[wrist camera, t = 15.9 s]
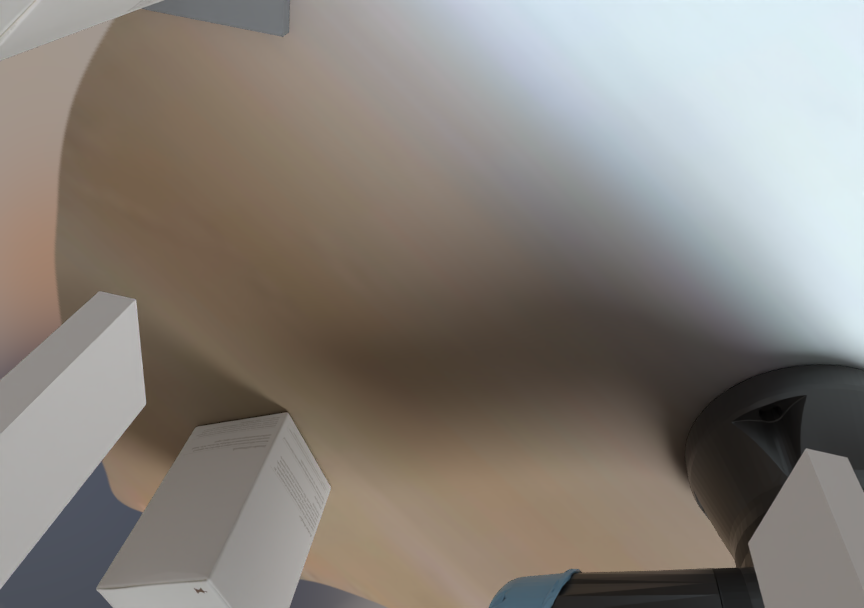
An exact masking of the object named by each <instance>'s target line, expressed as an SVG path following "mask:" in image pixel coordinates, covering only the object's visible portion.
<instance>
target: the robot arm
mask: <svg viewBox="0 0 864 608" xmlns="http://www.w3.org/2000/svg"><path fill="white" fill-rule="evenodd" d="M145 405H146V395H145V385H144V375H143V364H142V354H141V344H140V334H139V324H138V314H137V304H136V299H133V298H128V297H124V296H119V295H115V294H110V293H106V292H101V291H99V292H98V293H97V294H95V295H94V296H93V297H92V298H91V299H90V300H89V301H88V302H87V303H85V304H84V305H83V306H82V307H81V308H80V309H79V310H78V311H77V312H75V313H74V314H73V315H72V316H71V317H70V318H69V319H68V320H67V321H65V322H64V323H63V324H62V325H61V326H60V327H59V328H58V329H57V330H55V332H54V333H52V334H51V335H50V336H49V337H48V338H47V339H45V340H44V341H43V342H42V343H41V344H40V345H39V346H38V347H37V348H35V349H34V350H33V351H32V352H31V353H30V354H29V355H28V356H27V357H25V358H24V359H23V360H22V361H21V362H20V363H19V364H18V365H17V366H15V367H14V368H13V369H12V370H11V371H10V372H9V373H8V374H7V375H5V376H4V377H3V378H2V379H1V380H0V589H1V587H2V586H3V585H4V584H5V582H6V581H7V580H8V579H9V577H10V576H11V575H12V573H13V572H14V571H15V570H16V568H17V567H18V566H19V565H20V563H21V562H22V561H23V560H24V558H25V557H26V556H27V554H28V553H29V552H30V551H31V549H32V548H33V547H34V545H35V544H36V543H37V542H38V540H39V539H40V538H41V537H42V535H43V534H44V533H45V532H46V530H47V529H48V528H49V527H50V525H51V524H52V523H53V522H54V520H55V519H56V518H57V517H58V515H59V514H60V513H61V511H62V510H63V509H64V508H65V506H66V505H67V504H68V503H69V501H70V500H71V499H72V498H73V496H74V495H75V494H76V492H77V491H78V490H79V489H80V487H81V486H82V485H83V484H84V482H85V481H86V480H87V479H88V477H89V476H90V474H91V473H92V472H93V471H94V470H95V468H96V467H97V465H99V463H100V462H101V461H102V460H103V458H104V457H105V456H106V454H107V453H108V452H109V451H110V449H111V448H112V447H113V446H114V444H115V443H116V442H117V441H118V439H119V438H120V437H121V436H122V434H123V433H124V432H125V430H126V429H127V428H128V427H129V425H130V424H131V423H132V422H133V420H134V419H135V418H136V417H137V415H138V414H139V413H140V411H141V410H142V409H143V408H144V406H145ZM685 462H686V467H687V472H688V478H689V483H690V487H691V490H692V493H693V496H694V498H695V500H696V502H697V504H698V505H699V507H700V508H701V510H702V511H703V512H704V514H705V515H706V516H707V517H708V519H709V520H710V521H711V523H712V525H713V526H714V528H715V530H716V531H717V533H718V535H719V536H720V538H721V539H722V541H723V542H724V544H725V546H726V547H727V549H728V550H729V552H730V553H731V555H732V556H733V558H734V560H735V563H736V568H718V569H713V568H705V569H683V570H662V571H628V572H590V573H582V572H581V571H580V570H579V569H569V570H567V571H566V572H564V573H561V574H550V575H539V576H528V577H520V578H516V579H514V580H511V581H510V582H508V583H507V584H505V585H504V586H503V587H502V588H501V589H500V590H499V591H498V592H497V594H496V595H495V596H494V598H493V600H492V602H491V604H490V606H489V608H864V371H863V370H859V369H855V368H850V367H843V366H833V365H806V366H796V367H790V368H784V369H780V370H775V371H772V372H768V373H765V374H762V375H759V376H756V377H753V378H751V379H749V380H746V381H744V382H742V383H740V384H738V385H736V386H734V387H733V388H731V389H729V390H728V391H726V392H725V393H723V394H722V395H720V396H719V397H718V398H716V399H715V400H714V401H713V402H712V403H711V404H709V405H708V406H707V407H706V409H705V410H704V411H703V412H702V413H701V414H700V415H699V417H698V418H697V420H696V421H695V423H694V424H693V426H692V428H691V430H690V432H689V435H688V438H687V442H686V447H685Z"/></svg>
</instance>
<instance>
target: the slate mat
mask: <svg viewBox="0 0 864 608" xmlns="http://www.w3.org/2000/svg"><path fill="white" fill-rule="evenodd" d="M141 9H146V10H151V11H156V12H161V13H166V14H171V15H176V16H181V17H186V18H191V19H196V20H201V21H206V22H211V23H216V24H221V25H226V26H231V27H236V28H241V29H246V30H252V31H257V32H262V33H267V34H272V35H277V36H282V37H283V36H284V35H286V34H287V33H289V10H290V0H164V1H161V2H158V3H155V4H152V5H149V6H147V7H144V8H141Z"/></svg>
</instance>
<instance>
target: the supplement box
mask: <svg viewBox="0 0 864 608" xmlns="http://www.w3.org/2000/svg"><path fill="white" fill-rule="evenodd" d="M330 490H331V486H330V485H329V483H328V481H327V479H326V478H325V476H324V474H323V472H322V471H321V469H320V467H319V465H318V464H317V462H316V460H315V458H314V457H313V455H312V453H311V451H310V450H309V448H308V446H307V444H306V443H305V441H304V439H303V437H302V436H301V434H300V432H299V430H298V429H297V427H296V425H295V423H294V422H293V420H292V418H291V416H290V415H289V413H287V412H286V413H279V414H273V415H267V416H261V417H254V418H248V419H242V420H236V421H229V422H223V423H217V424H211V425H204V426H198V427H195V429H194V430H193V432H192V434H191V435H190V437H189V439H188V440H187V442H186V443H185V445H184V447H183V448H182V450H181V452H180V453H179V455H178V457H177V458H176V460H175V461H174V463H173V465H172V466H171V468H170V470H169V471H168V473H167V474H166V476H165V478H164V479H163V481H162V483H161V484H160V486H159V488H158V489H157V491H156V492H155V494H154V496H153V497H152V499H151V501H150V502H149V504H148V506H147V507H146V509H145V510H144V512H143V514H142V515H141V517H140V519H139V520H138V522H137V524H136V525H135V527H134V528H133V530H132V532H131V533H130V535H129V537H128V538H127V540H126V541H125V543H124V544H123V546H122V548H121V549H120V551H119V552H118V554H117V556H116V557H115V559H114V560H113V562H112V564H111V566H110V567H109V569H108V570H107V572H106V573H105V575H104V577H103V578H102V580H101V581H100V583H99V585H98V586H97V589H96V590H98V591H99V593H101V594H102V596H103V597H104V598H105V599H106V600H107V601H108V602H109V603H110V605H111V606H112V607H113V608H289V607H290V604H291V601H292V598H293V595H294V593H295V590H296V587H297V584H298V581H299V578H300V575H301V573H302V570H303V567H304V564H305V561H306V558H307V555H308V553H309V550H310V547H311V544H312V541H313V538H314V535H315V533H316V530H317V527H318V524H319V521H320V518H321V516H322V513H323V510H324V507H325V504H326V501H327V498H328V495H329V493H330Z"/></svg>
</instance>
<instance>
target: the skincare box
mask: <svg viewBox="0 0 864 608" xmlns="http://www.w3.org/2000/svg"><path fill="white" fill-rule="evenodd" d="M161 1H164V0H0V61H2V60H4V59H7V58H9V57H12V56H15V55H17V54H20V53H23V52H25V51H28V50H31V49H34V48H37V47H39V46H41V45H44V44H47V43H50V42H52V41H55V40H58V39H60V38H63V37H65V36H69V35H71V34H74V33H77V32H79V31H82V30H84V29H87V28H90V27H92V26H95V25H98V24H101V23H103V22H106V21H109V20H112V19H114V18H117V17H120V16H122V15H125V14H128V13H130V12H133V11H136V10H138V9H141V8H144V7H147V6H149V5H152V4H155V3H158V2H161Z"/></svg>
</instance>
